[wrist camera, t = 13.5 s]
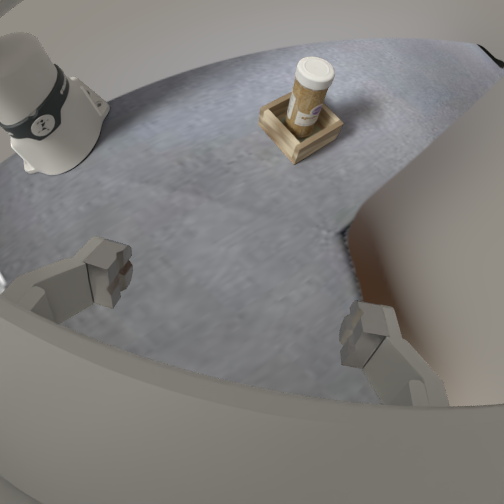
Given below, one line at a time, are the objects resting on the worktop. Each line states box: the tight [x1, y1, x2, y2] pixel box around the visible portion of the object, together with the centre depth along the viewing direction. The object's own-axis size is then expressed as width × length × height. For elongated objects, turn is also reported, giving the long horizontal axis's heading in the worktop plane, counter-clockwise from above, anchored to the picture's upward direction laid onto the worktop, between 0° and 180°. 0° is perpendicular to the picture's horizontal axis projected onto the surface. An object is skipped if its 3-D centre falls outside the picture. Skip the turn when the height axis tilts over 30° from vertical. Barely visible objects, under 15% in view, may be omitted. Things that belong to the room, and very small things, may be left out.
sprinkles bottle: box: [284, 57, 335, 138], centre depth 37 cm, size 5×5×14 cm
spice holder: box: [259, 92, 344, 165], centre depth 42 cm, size 9×9×4 cm
